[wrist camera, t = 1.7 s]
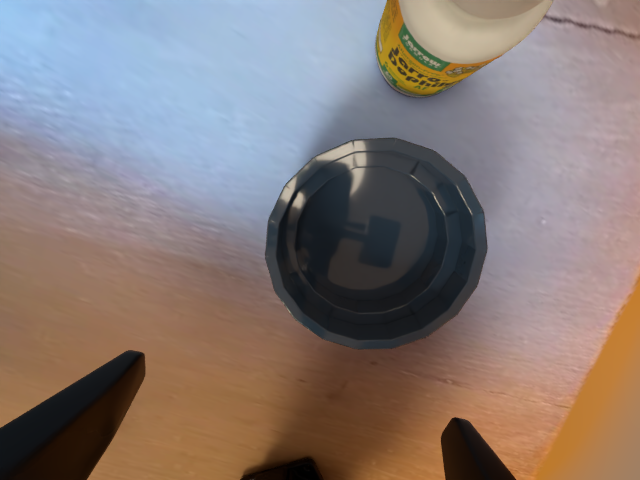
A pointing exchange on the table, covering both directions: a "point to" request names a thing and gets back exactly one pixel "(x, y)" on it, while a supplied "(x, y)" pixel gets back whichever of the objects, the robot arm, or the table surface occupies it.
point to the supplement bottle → (448, 39)
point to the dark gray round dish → (376, 243)
